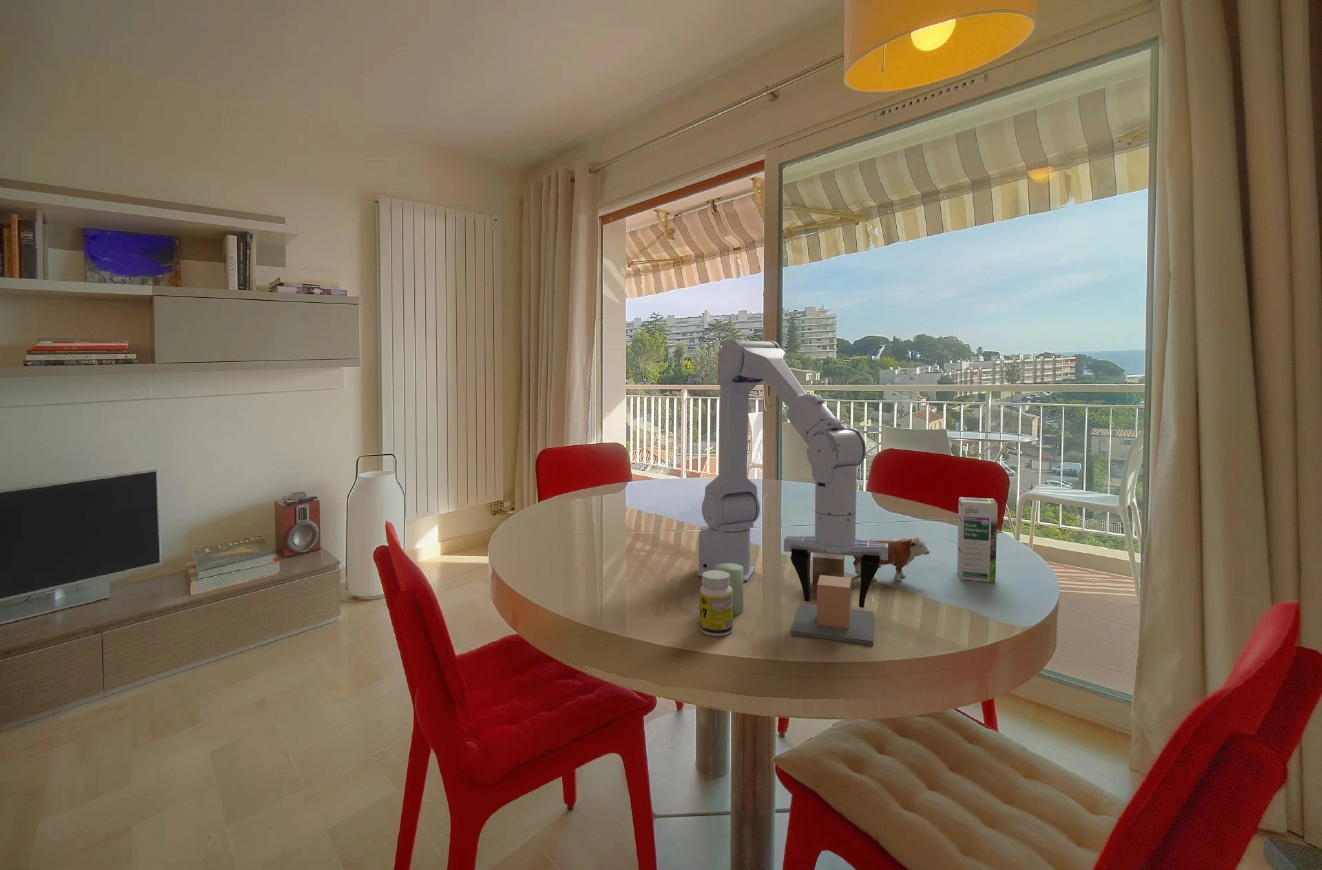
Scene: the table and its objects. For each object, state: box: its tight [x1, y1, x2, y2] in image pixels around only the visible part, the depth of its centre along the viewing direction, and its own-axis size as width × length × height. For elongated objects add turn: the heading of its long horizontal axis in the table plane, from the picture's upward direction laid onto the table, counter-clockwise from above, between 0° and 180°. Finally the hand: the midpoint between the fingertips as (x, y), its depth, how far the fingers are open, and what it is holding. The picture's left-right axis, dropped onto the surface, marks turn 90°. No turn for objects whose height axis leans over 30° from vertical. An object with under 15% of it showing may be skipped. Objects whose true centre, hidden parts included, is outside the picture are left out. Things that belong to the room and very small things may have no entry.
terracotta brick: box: [816, 575, 852, 628], centre depth 86 cm, size 4×4×6 cm
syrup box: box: [956, 496, 999, 584], centre depth 107 cm, size 6×6×14 cm
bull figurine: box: [852, 536, 931, 582], centre depth 106 cm, size 4×13×8 cm, turn 78°
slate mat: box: [790, 603, 874, 646], centre depth 86 cm, size 11×11×1 cm
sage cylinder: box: [715, 563, 744, 617], centre depth 92 cm, size 4×4×7 cm
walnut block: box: [811, 553, 845, 592], centre depth 102 cm, size 5×5×6 cm
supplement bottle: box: [699, 570, 734, 637], centre depth 85 cm, size 5×5×8 cm
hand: (834, 602), depth 86 cm, fingers open, 7 cm apart
